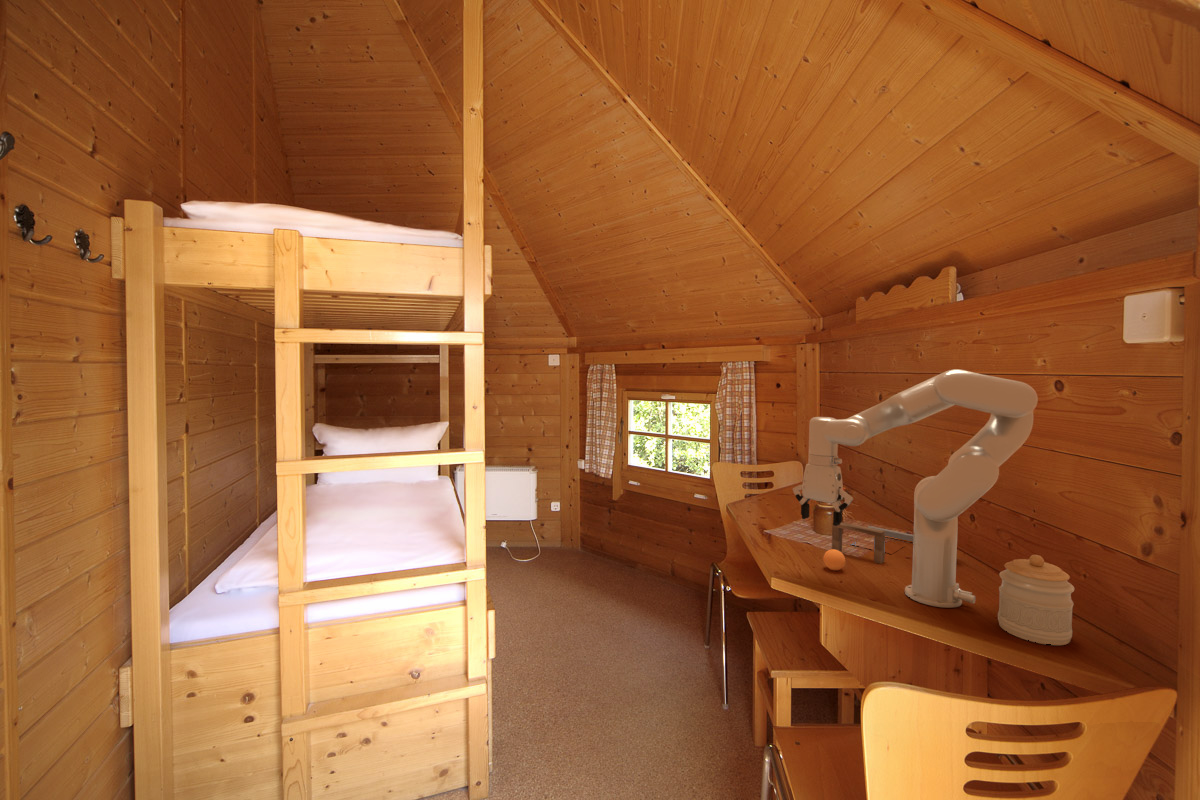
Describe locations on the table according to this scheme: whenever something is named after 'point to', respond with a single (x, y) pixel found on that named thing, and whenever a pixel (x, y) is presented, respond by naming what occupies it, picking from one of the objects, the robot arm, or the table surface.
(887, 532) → the grey long bar
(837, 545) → the bridge
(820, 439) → the robot arm
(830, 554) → the ball
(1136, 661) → the table surface
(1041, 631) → the jar
